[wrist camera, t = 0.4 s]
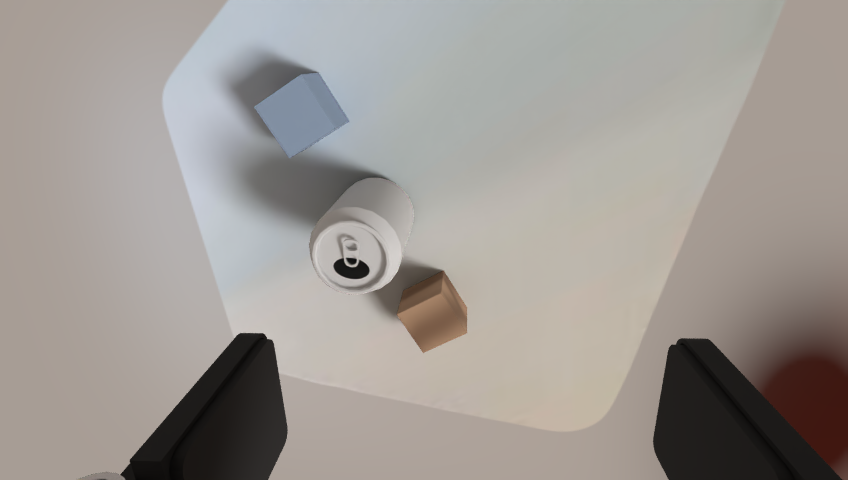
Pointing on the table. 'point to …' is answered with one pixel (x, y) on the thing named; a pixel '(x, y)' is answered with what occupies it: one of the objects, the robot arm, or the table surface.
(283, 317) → the table surface
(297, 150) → the slate block
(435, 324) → the walnut block
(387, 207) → the can
